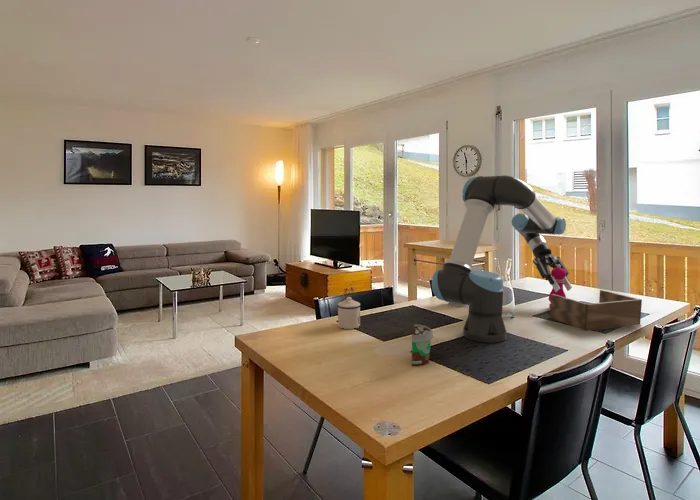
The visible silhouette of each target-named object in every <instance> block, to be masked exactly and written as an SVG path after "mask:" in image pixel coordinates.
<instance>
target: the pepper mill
mask: <svg viewBox="0 0 700 500" xmlns="http://www.w3.org/2000/svg"><path fill="white" fill-rule="evenodd" d="M550 273H551V277H552V276H554V278H555V280H556V282H557V283H558V285H559V287H560V289H559V290H558V291H557V292H555V290H554V288H553V287H552V289H551V291H550V293H549V295H548V301H549V303H548V304H549V306H548V307H549V310H551V294H555V295H558V296H562V297H565V298H567V296H566V293H565V290H564V284H563V282H564V280H565V279H564V277H565V276H566V271H565V270H564V269H562V268H561V265H560V264H558V265H557V268H554V269H553V268H552V270H550Z"/></svg>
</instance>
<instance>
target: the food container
mask: <svg viewBox="0 0 700 500" xmlns="http://www.w3.org/2000/svg"><path fill="white" fill-rule="evenodd" d="M433 338H434V334H433V331H432V328H430V326H428V325H424V324H423V325H422V324H417V323H416V324H413V333H412V334H411V367H421V366H422V367H423V366H425V365H428V364H429V362H430V355H431V343H432V339H433Z"/></svg>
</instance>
